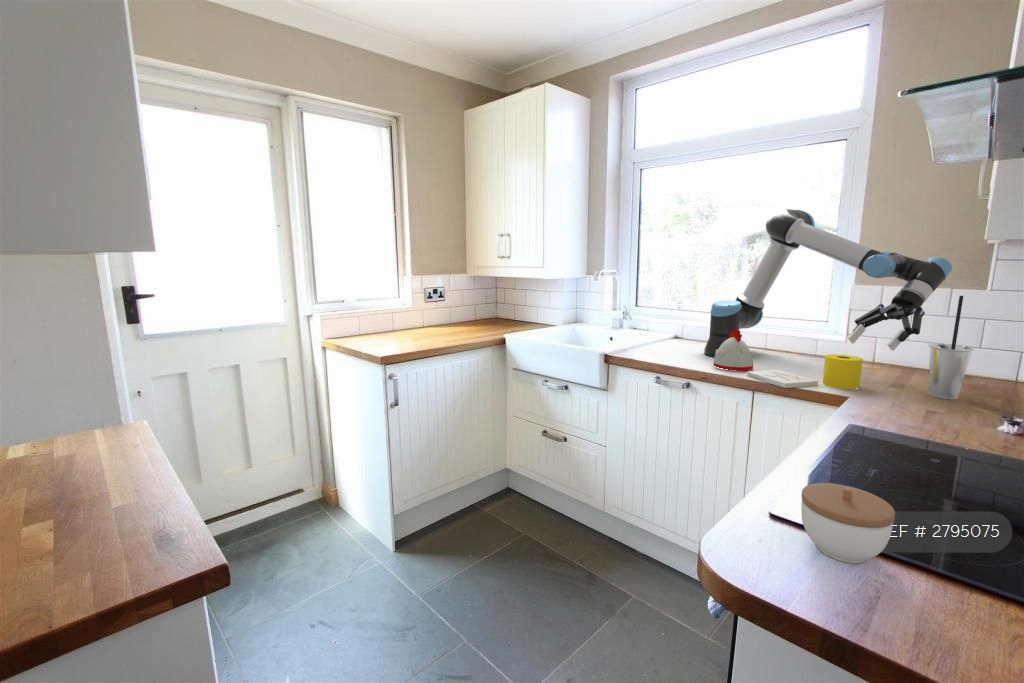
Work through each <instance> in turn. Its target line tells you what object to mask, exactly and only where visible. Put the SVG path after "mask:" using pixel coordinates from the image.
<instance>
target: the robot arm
mask: <svg viewBox="0 0 1024 683" xmlns="http://www.w3.org/2000/svg"><path fill="white" fill-rule="evenodd" d="M765 230H766V232H767V234H768V235H769V237H768V238H769V241H770V243H769V245H768V248H767V249H766V251H765V252H764V255H763V256H762V258H761V260H760V262H759V264H758V266H756V269H755V271H754V273H753V275H752V276H751V278H750V281H749V282H748V284H747V286H746V288H745V290H744V292H743V293H739V294H738V295H737V296H736V299H735V300H734V299H733V300H729V299H728V300H719V301H715V302H713V303H712V305H711V309H710V322H709V337H708V339H707V342H706V344H705V347H704V351H703V354H704V353H705V355H706V354H708V355H707V356H709V355H712V356H711V357H713V356H715V353H716V349H719V347H720V346H721V344H722V343H723V342H724V341H726V340H727V339H729V334H731V331H733V329H736V330H738V331H740V330H741V329H742V330H743V329H750V328H753V327H754V326H757V325H758V324H759V323H760V322H761V321H762V320H763V318H764V312H763V310H764V308H765V303H764V300H765V298H766V297H767V295H768V293H769V291H770V290H771V288H772V286H773V285H774V283H775V281H776V280H777V277H778V276H779V274H780V273H781V270H782V269H783V267H784V265H785V263H786V261H787V260H788V258H789V257H790V255H791V253H792V252H793V251H794V250H797V249H799V247H800V246H802V247H804V248H807V249H810V250H811V251H814V252H816V253H817V254H818V253H819V254H821V255H824V256H826V257H829V258H830V259H834V260H835V261H838V262H840V263H843V264H845V265H847V266H850V267H852V268H855V269H857V270H860V271H862V272H864V273H865V275H867V276H869V277H870V278H875V279H883V278H897V279H899V280H903V281H906V283H905V284H904V285H903V287H901V289H900V290H899V291H898V292H897V293H896V295H894V296H893V298H892V299H891V302H890V304H888V305H884V304H883V303H879V304H878V305H877V306H876V307H875V308H873V309H871V310H870V311H868V312H867V313H865V314H863V315H861V316H860V317H858V318H856V319H855V320H854V324H855V325H856V326H855V328H854V329H852V332H851V333H850V334H849V336H848V337H847V339H848V341H850V343H851V344H855V342H857V341H858V339H859V338H860V337H861V336H862V335H863V333H865V331H867V329H866V328H868V327H871V326H873V325H875V324H878V323H880V322H882V321H888V320H896V321H901V323H902V328H903V329H900V330H898V332H897V333H896V334H895V335H894V336H893V338H892V339H890V341H889V342H888V343H887V346H888V348H889V350H890V351H895V350H896V349H897V348H898V346H899V345H900V344H901V343H903V342H905V341H906V340H907V339H908V337H909V336H912V335H916V336H917V335H920V332H921V327H922V322H923V321H922V320H923V316H924V315H925V314H926V312H925V310H924V309H923V307H922V306H923V304H924V303H925V302H926V301H927V300H928V299H929V297H931V296H932V294H933V293H934V292H935V291H936V290H937V289H938V288H939V286H941V284H942V283H943V282H944V281H945V280H946V279H947V277H948V276H949V275H950V273H951V272H952V270H953V265H952V263H951V262H950V261H949V260H948V259H946V258H944V257H940V256H936V257H935V256H932V257H929V258H927V259H926V260H920V259H915V258H913V257H909V256H906V255H903V254H899V253H897V252H893V251H888V250H885V251H879V250H875V249H873V248H872V247H868V246H866V245H863V244H860V243H857V242H855V241H852V240H850V239H847V238H844V237H842V236H839V235H837V234H834V233H831V232H829V231H826V230H824V229H821V228H819V227H817V226H815V219H814V217H813V216H812V215H811V213H809V212H807V211H805V210H802V209H801V210H800V209H790V208H780V209H777V210H775V211H774V212H772V213H771V214H770V215H769V216H768V218H767V220H766V222H765ZM885 314H886V315H885ZM912 315H913V317H912V324H910V319H909V317H910V316H912Z"/></svg>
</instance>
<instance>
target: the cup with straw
mask: <svg viewBox="0 0 1024 683" xmlns="http://www.w3.org/2000/svg"><path fill="white" fill-rule="evenodd" d="M963 301H964V295H959V296H958V303H957V310H956V314H955V315H956V316H955V321H954V329H953V335H952V342H951V344H947V343H946V344H945V343H931V344H930V343H929V344H928V345H927V346H928V347H929V365H928V366H929V367H928V368H929V369H928V370H929V372H928V375H929V383H928V384H929V386H928V388H929V389H928V390H929V391H928V396H930V397H932V396H934V397H933V398H935V397H937V398H936V399H939V398H942V400H946V399H951V400H950V401H953V400H955V399H956V400H958V399H959V398H958V397H959V395H960V391H961V388H962V385H963V381H964V378H965V375H966V372H967V368H968V364H969V361H970V359H971V355H972V352H973V351H975V348H974V347H970V346H964V345H958V344H957V340H958V339H957V338H958V334H959V333H958V332H959V327H960V320H961V314H962V308H963ZM956 400H955V401H956Z"/></svg>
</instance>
